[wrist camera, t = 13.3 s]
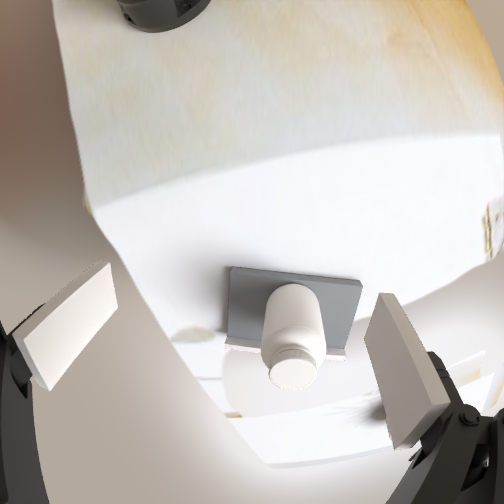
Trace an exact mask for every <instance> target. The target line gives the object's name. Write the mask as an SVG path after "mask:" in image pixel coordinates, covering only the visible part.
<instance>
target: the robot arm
mask: <svg viewBox="0 0 504 504" xmlns="http://www.w3.org/2000/svg"><path fill="white" fill-rule="evenodd" d="M117 1H118V3H119V5H120V8H121V10H122V12H123V14H124V17H125V19H126V20H127V21H128V22H129V23H130V24H131V25H133V26H134V27H136V28H137V29H139V30H141V31H144V32H151V33H156V32H164V31H168V30H172V29H175V28H177V27H180V26H182V25H184V24H186V23H187V22H189V21H191V20H192V19H194V18H195V17H196V16H198V15H199V14H200V13H201V12H202V11H203V10H204V9H205V8H206V7H207V5H208V4H209V2H210V1H211V0H117ZM117 308H118V305H117V301H116V296H115V290H114V285H113V279H112V273H111V266H110V262H104V261H97V262H96V263H95V264H93V265H92V266H91V267H89V268H88V269H87V270H86V271H84V272H83V273H82V274H81V275H79V276H78V277H77V278H75V279H74V280H73V281H72V282H71V283H69V284H68V285H67V286H66V287H64V288H63V289H62V290H61V291H60V292H58V293H57V294H56V295H55V296H54V297H52V298H51V299H50V300H49V301H48V302H47V303H45V304H43V305H41V306H39V307H38V308H37V309H36V310H34V311H33V312H32V314H30V315H29V316H28V317H27V319H24V320H23V321H22V322H21V323H20V324H19V325H18V326H17V327H16V328H15V329H14V330H12V331H11V332H10V333H9V334H8V335H6V333H5V331H4V328H3V326H2V324H1V321H0V504H49V500H48V496H47V493H46V489H45V485H44V481H43V476H42V472H41V468H40V462H39V456H38V450H37V443H36V435H35V427H34V416H33V401H32V384H31V381H30V377H32V375H33V377H34V378H35V380H36V381H37V383H38V385H40V386H41V387H43V388H45V389H47V390H49V391H51V389H52V388H53V387H54V385H55V384H56V383H57V382H58V380H59V379H60V378H61V376H62V375H63V374H64V372H65V371H66V370H67V369H68V367H69V366H70V365H71V363H72V362H73V361H74V360H75V358H76V357H77V356H78V355H79V353H80V352H81V351H82V350H83V349H84V347H85V346H86V345H87V344H88V342H89V341H90V340H91V339H92V338H93V336H94V335H95V334H96V333H97V332H98V330H99V329H100V328H101V327H102V326H103V325H104V323H105V322H106V321H107V320H108V319H109V317H110V316H111V315H112V314H113V313H114V312H115V311H116V309H117ZM364 341H365V344H366V347H367V350H368V353H369V356H370V360H371V363H372V366H373V369H374V373H375V376H376V380H377V383H378V387H379V391H380V394H381V398H382V402H383V405H384V409H385V413H386V417H387V421H388V425H389V429H390V433H391V438H392V442H393V447H394V450H401V449H407V448H412V447H413V446H414V445H415V444H416V443H417V442H418V441H419V440H420V441H421V445H422V447H421V448H420V449H419V450H418V451H417V452H416V453H415V454H414V455H413V456H412V457H411V458H410V459H409V461H412V460H413V461H412V463H411V465H410V466H409V468H408V470H407V471H406V473H405V475H404V477H403V478H402V480H401V481H400V483H399V485H398V486H397V488H396V489H395V491H394V492H393V494H392V495H391V497H390V498H389V500H388V501H387V502H386V504H504V408H503V409H501V410H500V411H499V412H498V413H497V414H496V415H495V416H494V417H487V416H481V415H480V413H479V412H478V410H477V409H476V408H474V407H473V406H471V405H468V404H463V402H462V400H461V398H460V395H459V393H458V391H457V389H456V387H455V385H454V383H453V381H452V379H451V378H450V375H449V373H448V371H447V370H446V368H445V366H444V364H443V362H442V360H441V359H440V358H439V357H438V356H437V355H436V354H435V353H434V352H432V351H431V352H426V350H425V348H424V346H423V344H422V342H421V341H420V339H419V337H418V335H417V333H416V331H415V330H414V328H413V326H412V324H411V322H410V321H409V319H408V317H407V315H406V314H405V312H404V310H403V309H402V307H401V305H400V304H399V302H398V300H397V299H396V297H395V295H394V294H391V293H379V296H378V299H377V302H376V305H375V308H374V311H373V314H372V317H371V320H370V323H369V326H368V329H367V332H366V334H365V337H364ZM488 459H489V463H488V466H487V460H488Z"/></svg>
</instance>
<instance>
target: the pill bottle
mask: <svg viewBox="0 0 504 504" xmlns="http://www.w3.org/2000/svg"><path fill="white" fill-rule="evenodd" d="M325 355H326V341H325V335H324V329H323V324H322V318H321V312H320V307H319V302H318V299H317V297H316V295H315V294H314V293H313V291H312V290H310V289H309V288H307V287H306V286H303V285H300V284H287V285H283V286H281V287H279V288H277V289H276V290H275V291H274V292H273V293H272V294H271V295H270V297H269V299H268V302H267V305H266V313H265V321H264V328H263V336H262V343H261V356H262V359H263V361H264V363H265V365H266V366H267V367H268V368H269V377H270V380H271V381H272V382H273V384H275V385H276V386H278V387H280V388H282V389H286V390H299V389H302V388H305V387H307V386H309V385H310V384H311V383H312V382H313V381H314V380H315V379H316V376H317V368H318V367H319V366H320V365H321V363H322V362H323V360H324V358H325Z"/></svg>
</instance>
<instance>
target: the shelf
mask: <svg viewBox="0 0 504 504" xmlns="http://www.w3.org/2000/svg"><path fill="white" fill-rule="evenodd" d="M287 284H300V285H303V286H306V287H307V288H309V289H310V290H312V291H313V293H314V294H315V295H316V297H317V299H318V302H319V307H320V312H321V318H322V324H323V329H324V335H325V341H326V355H325V358H324V359H328V360H344V359H345V357H346V354H345V350H344V348H345V345H346V341H347V339H348V335H349V332H350V329H351V326H352V323H353V320H354V316H355V313H356V310H357V306H358V303H359V299H360V295H361V292H362V288H363V286H362V284H361V282H360V281H357V280H347V279H338V278H328V277H319V276H310V275H301V274H292V273H283V272H275V271H266V270H257V269H249V268H241V267H232V269H231V271H230V284H229V304H228V326H227V338H226V341H225V349H232V350H239V351H246V352H254V353H261V343H262V336H263V328H264V321H265V313H266V305H267V302H268V299H269V297H270V295H271V294H272V293H273V292H274V291H275V290H276V289H277V288H279V287H281V286H283V285H287Z"/></svg>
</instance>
